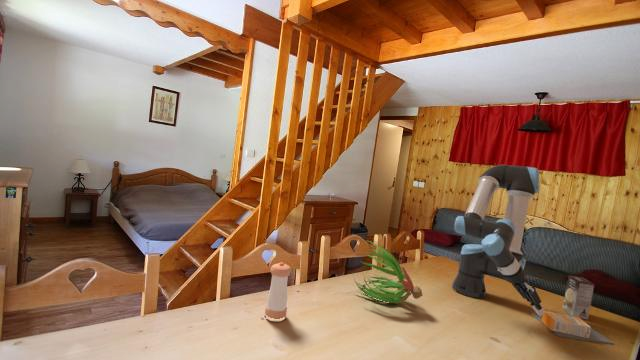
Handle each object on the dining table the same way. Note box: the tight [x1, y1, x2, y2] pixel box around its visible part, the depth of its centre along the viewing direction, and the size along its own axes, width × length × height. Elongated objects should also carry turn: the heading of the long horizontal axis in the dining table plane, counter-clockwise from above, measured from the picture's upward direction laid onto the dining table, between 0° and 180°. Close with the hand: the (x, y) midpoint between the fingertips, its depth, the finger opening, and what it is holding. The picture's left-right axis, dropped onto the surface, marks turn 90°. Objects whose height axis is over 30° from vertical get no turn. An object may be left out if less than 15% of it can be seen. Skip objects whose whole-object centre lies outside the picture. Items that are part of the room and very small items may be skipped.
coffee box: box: [562, 275, 595, 320], centre depth 147 cm, size 9×6×16 cm
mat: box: [530, 312, 614, 345], centre depth 131 cm, size 20×18×1 cm
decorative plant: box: [353, 239, 423, 304], centre depth 134 cm, size 26×25×30 cm
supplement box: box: [542, 310, 592, 338], centre depth 128 cm, size 8×5×13 cm
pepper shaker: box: [264, 261, 292, 319], centre depth 111 cm, size 7×7×19 cm
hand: (541, 313), depth 130 cm, fingers closed
